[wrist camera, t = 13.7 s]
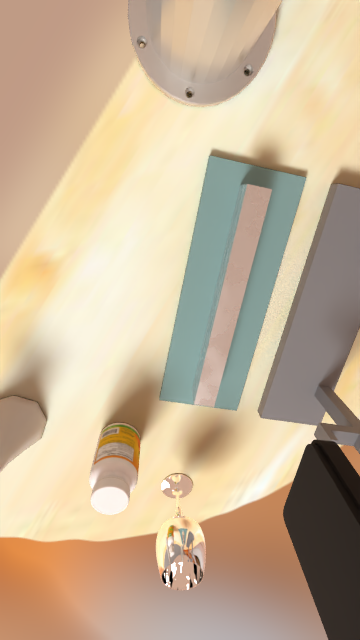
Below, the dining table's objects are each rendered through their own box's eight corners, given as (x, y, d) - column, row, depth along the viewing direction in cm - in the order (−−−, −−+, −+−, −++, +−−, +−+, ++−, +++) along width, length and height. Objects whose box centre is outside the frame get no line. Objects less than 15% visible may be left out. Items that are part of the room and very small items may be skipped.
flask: (-17, 393, 41) (-69, 452, 31) (45, 394, 41) (11, 452, 32) (-8, 442, 43) (-55, 510, 34) (49, 442, 44) (19, 509, 34)
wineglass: (148, 491, 47) (145, 582, 36) (171, 463, 46) (175, 550, 35) (182, 506, 49) (188, 599, 37) (205, 480, 47) (219, 569, 36)
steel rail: (240, 184, 33) (247, 184, 31) (262, 190, 34) (272, 189, 31) (191, 390, 41) (193, 404, 39) (210, 392, 42) (214, 407, 39)
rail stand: (331, 184, 35) (436, 176, 21) (400, 200, 35) (542, 201, 22) (257, 410, 44) (299, 502, 31) (314, 418, 45) (379, 510, 32)
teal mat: (209, 156, 33) (210, 155, 32) (303, 178, 34) (306, 177, 34) (159, 397, 42) (159, 400, 42) (235, 407, 43) (236, 410, 43)
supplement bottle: (130, 459, 45) (123, 525, 36) (93, 446, 44) (75, 511, 35) (147, 429, 44) (144, 491, 35) (109, 415, 43) (95, 474, 34)
